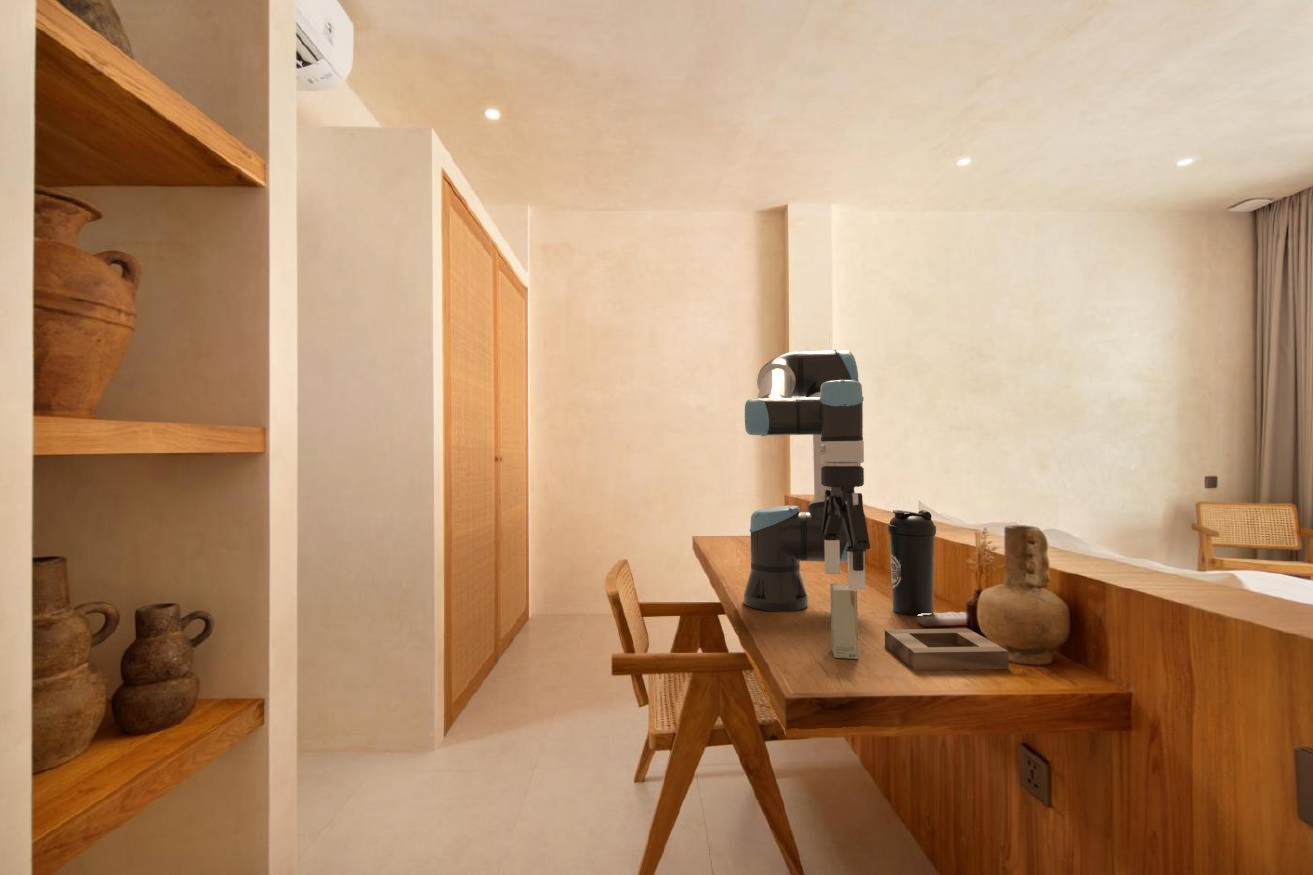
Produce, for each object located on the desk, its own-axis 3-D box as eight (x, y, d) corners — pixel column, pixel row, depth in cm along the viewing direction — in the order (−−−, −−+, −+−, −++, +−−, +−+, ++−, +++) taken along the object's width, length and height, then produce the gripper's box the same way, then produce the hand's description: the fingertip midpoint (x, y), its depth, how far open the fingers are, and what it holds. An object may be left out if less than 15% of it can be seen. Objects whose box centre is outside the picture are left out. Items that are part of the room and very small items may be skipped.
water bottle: (884, 605, 147) (883, 508, 147) (929, 606, 145) (928, 508, 146) (894, 616, 137) (893, 512, 137) (943, 618, 135) (941, 513, 136)
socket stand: (884, 645, 117) (884, 629, 117) (968, 644, 117) (968, 628, 117) (914, 670, 104) (914, 652, 104) (1008, 668, 104) (1008, 651, 104)
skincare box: (859, 660, 109) (858, 591, 109) (833, 658, 110) (832, 590, 110) (854, 648, 116) (854, 583, 116) (830, 647, 116) (830, 582, 117)
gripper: (804, 464, 126) (805, 568, 125) (843, 466, 101) (845, 596, 100) (840, 463, 126) (842, 568, 125) (889, 465, 101) (891, 596, 100)
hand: (843, 581), depth 113 cm, fingers open, 13 cm apart
